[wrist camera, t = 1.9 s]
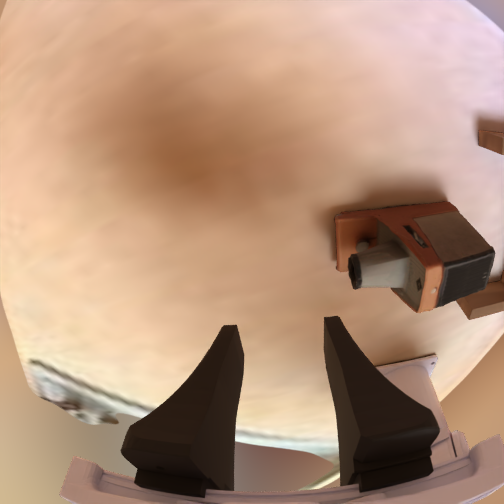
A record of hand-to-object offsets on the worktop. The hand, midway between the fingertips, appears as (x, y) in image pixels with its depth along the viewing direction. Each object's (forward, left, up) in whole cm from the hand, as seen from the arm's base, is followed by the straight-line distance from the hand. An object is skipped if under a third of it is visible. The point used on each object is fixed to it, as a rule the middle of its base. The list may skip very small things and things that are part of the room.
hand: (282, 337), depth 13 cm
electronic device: (0, -9, -10) cm, 13 cm away
